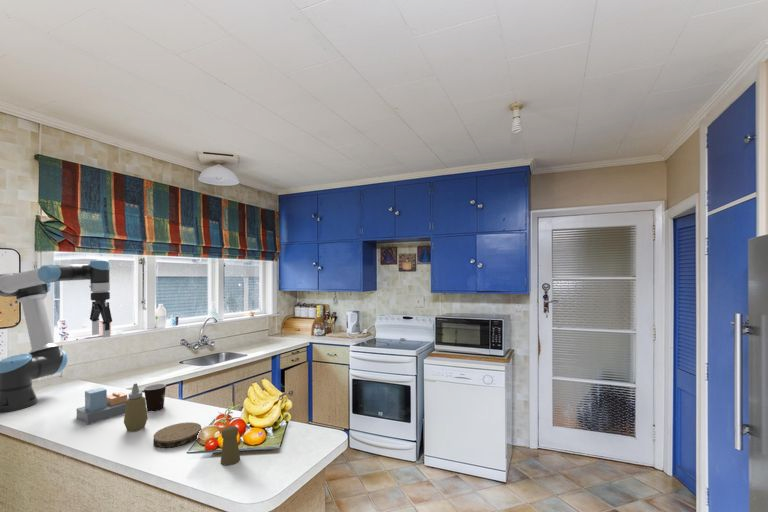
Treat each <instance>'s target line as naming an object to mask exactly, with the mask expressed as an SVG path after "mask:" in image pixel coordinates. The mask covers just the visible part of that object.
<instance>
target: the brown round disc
mask: <svg viewBox="0 0 768 512" xmlns="http://www.w3.org/2000/svg"><path fill="white" fill-rule="evenodd" d="M201 425H202V424H200V423H197V422H179V423H176V424H171V425H168V426H166V427H163V428H161V429H159V430H157V431H156V432H155V433H154V434H153V446H154V447H155V448H157V449H161V450H162V449H165V450H167V449H176V448H180V447H184V446H186V445H190V444H192V443H194V442H195V441H197V440H198V439H197V435H198V433H199V431H200V430H201V431H202V426H201ZM196 439H197V440H196Z"/></svg>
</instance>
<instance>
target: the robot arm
mask: <svg viewBox="0 0 768 512" xmlns="http://www.w3.org/2000/svg"><path fill="white" fill-rule="evenodd" d="M110 269H111V268H110V261H109V260H108V259H93V260H90V261H89V264H87V263H86V264H85V263H84V264H83V263H81V264H80V263H79V264H47V265H46V264H45V265H42V266H40V268H35V269H29V270H26V271H22V272H16V273H15V272H14V273H13V272H10V273H8V272H7V273H1V274H0V297H6V298H7V297H9V298H10V297H11V298H12V297H15V298H16V301H17V302H18V303H21V306H22V312H23V314H24V315H23V316H24V318H25V324H26V329H27V334H28V338H29V341H30V345H31V346H30V347H31V350H30V351H29V352H28V353H19V354H15V355H11V356H8V357H6V358H3V359H1V360H0V413H3V412H5V413H6V412H13V411H16V410H22V409H26V408H28V407H32V406H33V405H35V404H37V403H38V397H37V395H36V393H35V390H34V388H33V381H34V380H36V379H40V378H44V377H48V376H53V375H55V374H58V373H61V372H62V371H64V370H65V368H66V366H67V364H68V354H67V351H65V350H64V349H60V347H59V345H58V344H56V343H55V342H54V338H53V334H52V329H51V325H50V321H49V316H48V311H47V308H46V304H45V298H46V297H47V294H48V293H49V291H51V283H55V282H56V283H57V282H63V281H64V282H65V281H67V282H68V281H69V282H71V281H85V280H87V281H88V280H89V281H90V282H89V283H90V285H88V286H89V288H90V301H92V302H91V311H90V315H89V316H90V317H89V320H90V321H91V335H92V336H96V335H100V318H99V317H100V316H101V319H102V322H101V324H102V338H103V339H104V338H111V323H112V322H113V318H112V313H111V309H110V308H111V307H110V302H109V301H108V300H110V298H111V292H110V290H111V287H110V286H111V283H110V278H111V277H110Z"/></svg>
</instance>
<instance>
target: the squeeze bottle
mask: <svg viewBox="0 0 768 512" xmlns="http://www.w3.org/2000/svg"><path fill="white" fill-rule="evenodd" d="M128 398H129V399H128V400H127V401H126V405H125V414H123V415H124V417H123V424H124V426H125V428H126V429H125V430H126V431H127V432H128V433H130V432H131V433H133V432H138V431H141V430H143V429H145V427H146V426H147V425H146V424H147V421H148V411H147V406H146V399H145V396H143V391H142V390H139V386H138V383H137V382H136V383H135V382H134V383H133V385H132V390H131V392H129V393H128Z"/></svg>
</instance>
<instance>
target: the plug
mask: <svg viewBox="0 0 768 512" xmlns="http://www.w3.org/2000/svg"><path fill="white" fill-rule="evenodd" d="M107 391H108V390H107V389H106V388H104V387H101V386H100V387H97V388H93V389H89V390H85V391H84V406H85V409H87V410H89V411H94V410H98V409H101V408H105V407H107V396H108V395H107Z"/></svg>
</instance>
